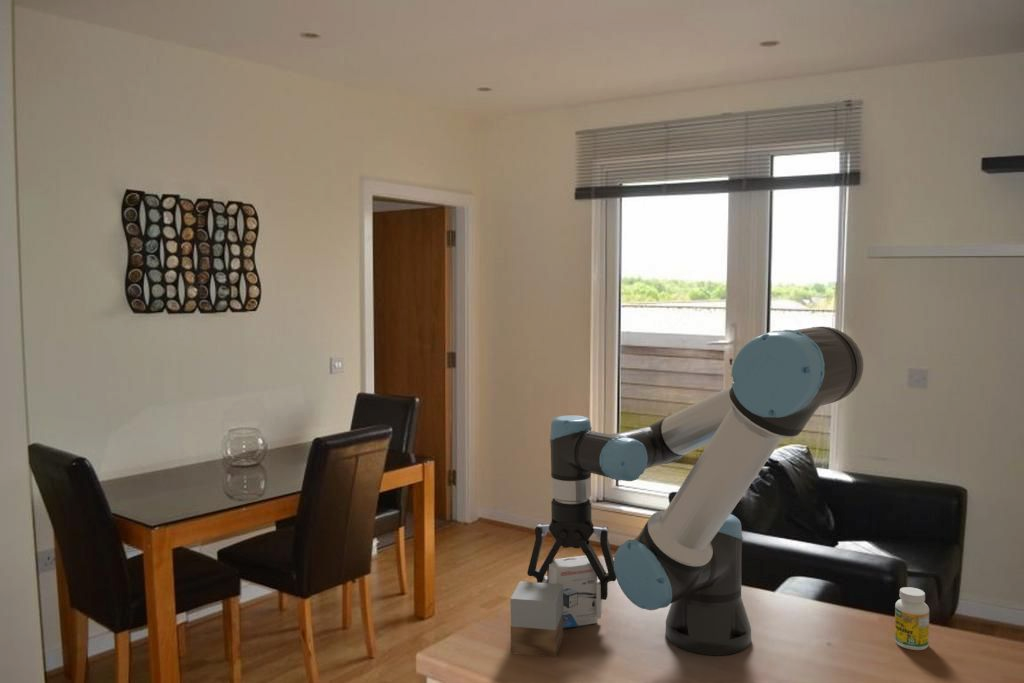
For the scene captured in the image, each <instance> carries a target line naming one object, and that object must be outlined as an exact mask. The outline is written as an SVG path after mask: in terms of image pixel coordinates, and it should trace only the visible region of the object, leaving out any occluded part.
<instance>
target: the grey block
mask: <svg viewBox="0 0 1024 683" xmlns="http://www.w3.org/2000/svg"><path fill="white" fill-rule="evenodd" d="M509 601H510V604H509V605H510V627H511V626H513V627H525V628H537V629H549V630H556V629H557V626H558V624H559V621H560V618H561V616H562V613H563V584H552V583H537V581H536V582H534V581H521V580H520V581H519V583H518V584H517V585H516V588H515V589H514V591H513V593H512V595H511V596H510V600H509Z"/></svg>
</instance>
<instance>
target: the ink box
mask: <svg viewBox="0 0 1024 683" xmlns="http://www.w3.org/2000/svg"><path fill="white" fill-rule="evenodd" d="M546 573H547V574H546V576H547V583H552V584H563V629H568V628H573V627H581V626H587V625H592V624H597V623H598V621H599V620H598V618H597V606H596V584H597V580H598V577H597V575H596V573H595V571H594V570H593V568H592V566H591V564H590V562H589V560H588V559H587V557H586V555H577V556H576V555H575V556H569V557H562V558H554V559H553V561H552V562H551V564H549V568H548V570H547V571H546Z"/></svg>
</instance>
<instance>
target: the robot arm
mask: <svg viewBox="0 0 1024 683" xmlns="http://www.w3.org/2000/svg"><path fill="white" fill-rule="evenodd" d="M863 372H864V358H863V355H862V351H861V349H860V347H859V345H858V344H857V343H856V341H854V339H853V338H852V337H851V336H849V335H848V334H847V333H846V332H843V331H841V330H839V329H837V328H833V327H831V326H813V327H808V328H802V329H801V328H799V329H795V330H792V329H777V330H772V331H770V332H766V333H764V334H761V335H759V336H756V337H754V338H752V339H750V340H749V341H748V342H746V343H745V344H744V345H743V347H741V349H740V350H739V351H738V353H737V354H736V356H735V358H734V361H733V363H732V367H731V375H730V376H731V377H732V383H731V385H730V386H728V387H725V388H724V389H722V390H719V391H718V392H716V393H714V394H711V395H710V396H708V397H706V398H703V399H702V400H699V401H697V402H695V403H694V404H691V405H689V406H687V407H685V408H683V409H681V410H679V411H677V412H675V413H672V414H671V415H668V416H666V417H664V418H662V419H659V420H658V421H656V422H654V423H652V424H650V425H647V426H643V427H639V428H634V429H630V430H625V431H620V432H616V433H604V432H597V431H595V430H592V424H591V419H590V418H589V417H586V416H583V415H574V414H573V415H571V414H570V415H569V414H568V415H560V416H557V417H554V418H553V419H552V421H551V423H550V437H549V444H550V445H549V446H550V470H551V472H550V495H551V497H552V499H551V508H550V509H551V512H550V513H551V520H550V524H543V523H541V522H539V523H537V524H536V527H535V528H534V533H535V534H534V535H535V541H534V544H533V549H532V552H531V557H530V559H529V560H530V561H529V563H528V568H527V571H526V572H527V573H526V574H527V576H529V577H534V578H535V579H536V582H537V583H547V575H546V573H547V570H548V568H549V564H551V562H552V561H553V559H555V557H556V556H557V553H558V552H559V551H560V548H561V547H562V548H564V549H568V548H573V549H581V551H582V552H583V554H584V556H586V557H587V559H588V560H589V562H590V564H591V566H592V568H593V570H594V571H595V573H596V575H597V584H596V606H597V619H601V617H602V614H603V601H606V600H607V598H608V592H609V591H608V588H609V587H608V586H609V584H608V583H610V582H615V581H617V583H618V586H619V588H620V590H621V591H622V593H623V595H625V597H626V598H627V599H628V600H629V601H630V602H631V603H632V604H634V606H636V607H638V608H640V609H641V610H646V611H655V610H659V609H663V608H667V607H669V606H670V607H669V609H668V612H667V616H666V619H665V636H666V638H667V640H669V642H671V644H673V645H675V646H676V647H679V648H680V649H681V650H685V651H688V652H692V653H695V654H701V655H710V656H724V655H731V654H736V653H740V652H742V651H744V650H746V649H747V648H748V647H749V646H750V645H751V643H752V628H751V627H752V626H751V623H750V620H749V617H748V615H747V611H746V607H745V605H744V601H743V599H742V574H743V573H742V571H743V570H742V568H743V567H742V565H743V564H742V562H743V561H742V560H743V555H742V554H743V540H744V537H743V534H742V533H743V532H742V531H743V529H742V523H741V521H740V519H739V518H738V517H737V516H735V515H734V514H732V513H733V511H734V509H735V508H736V506H737V504H738V503H739V502H740V501H741V500H742V498H743V496H744V495H745V493H747V491H748V489H749V488H750V486H751V484H752V483H753V482H754V480H755V479H756V477H757V476H758V475H759V473H760V472H761V470H762V469H763V468H764V466H765V465H766V463H767V461H769V459H770V458H771V457H772V454H773V453H774V452H775V450H776V449H777V448H778V446H779V444H780V443H781V442H782V440H784V439H792V438H793V439H794V438H796V437H798V436H799V435H800V434H801V432H802V431H803V429H804V428H805V426H806V425H807V424H808V422H809V421H810V420H811V418H812V417H813V415H814V414H815V413H816V411H817V410H818V409H819V408H820V407H821V406H825V405H830V404H833V403H836V402H838V401H841V400H843V399H845V398H847V397H848V396H849V395H851V394H852V393H853V392H854V391H855V390H856V388H857V387H858V385H859V384H860V382H861V380H862V377H863ZM705 446H706V447H705ZM704 447H705V448H704ZM701 448H704V450H703V451H702V453H701V454H700V456H699V457H698V459H697V461H695V464H694V465H693V467H692V468H691V470H690V472H689V473H688V475H687V477H686V478H685V479H684V481H683V483H682V484H681V485H680V487H679V489H678V490H677V491H676V493H675V495H674V497H673V498H672V499H671V501H670V503H669V505H668V506H667V508H666V510H660V511H656V512H654V513H652V514H651V515H650V517H649V518H648V520H647V522H646V523H645V525H644V526H643V528H642V529H641V531H640V532H639V534H638V535H637V536H636V537H635V538H634V539H628V540H627V541H624V542H623V543H621V545H619V546H618V547H617V548H616V552H615V554H614V556H613V553H612V548H611V546H610V541H609V538H608V536H609V527H608V526H605V525H604V526H602V527H601V526H600V527H599V526H595V525H594V524H593V521H592V500H591V499H590V498H591V497H592V474H594V475H597V476H601V477H606V478H610V479H612V480H614V481H620V482H621V481H624V482H634V481H636V480H638V479H639V478H640V476H641V475H643V474H644V472H645V471H646V470H647V469H649V468H652V467H653V468H654V467H657V466H661V465H667V464H670V463H673V462H675V461H678V460H680V459H681V458H683V457H684V456H685V455H687V454H689V453H691V452H693V451H697V450H698V449H701ZM548 532H550V534H551V535H552V536H553V538H554V539H555V541H554V543H553V545H552V547H551V548H550V551H549V552H548V554H547V556H546V558H545V560H544V562H543V563H542V565H541V567H540V569H539V568H537V567H538V566H537V565H538V561H539V557H540V555H541V554H540V553H541V549H542V546H543V543H544V539H545V537H546V536H547V534H548ZM593 534H594V535H595V536H596V539H598V540H599V543H600V547H601V552H602V555H603V559H604V563H605V566H606V570H607V572H606V570H605V568H604V567H603V564H602V563H601V561H600V559H599V557H598V555H597V553H596V551H595V550H594V547H593V546H592V543H591V541H590V538H591V536H592V535H593Z"/></svg>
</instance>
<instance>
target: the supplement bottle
mask: <svg viewBox="0 0 1024 683" xmlns="http://www.w3.org/2000/svg"><path fill="white" fill-rule="evenodd" d="M899 598H900V599H898V600H897V601H896V602H895V604H894V605H895V606H894V608H895V609H894V640H895V643H896V644H897V645H898V646H900V647H901V648H904V649H906V650H911V651H912V650H913V651H922V650H926V649H927V648H928V647H929V644H930V636H929V635H930V634H929V633H930V608H929V606H928V604H926V602H925V601H926V593H925V592H924V590H922V589H919V588H916V587H910V586H909V587H905V586H903V587H901V588H900V589H899Z"/></svg>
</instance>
